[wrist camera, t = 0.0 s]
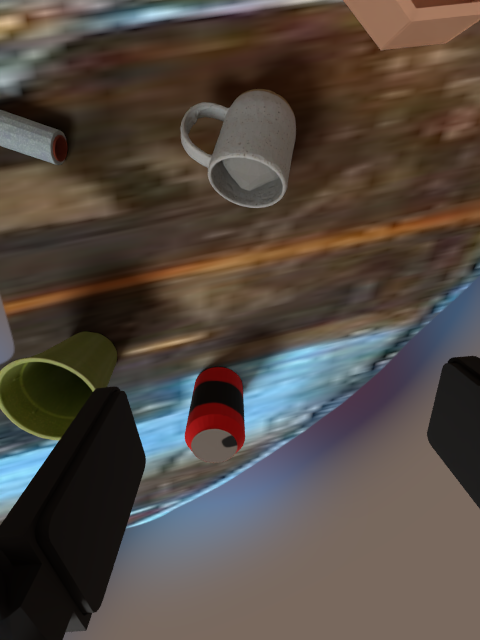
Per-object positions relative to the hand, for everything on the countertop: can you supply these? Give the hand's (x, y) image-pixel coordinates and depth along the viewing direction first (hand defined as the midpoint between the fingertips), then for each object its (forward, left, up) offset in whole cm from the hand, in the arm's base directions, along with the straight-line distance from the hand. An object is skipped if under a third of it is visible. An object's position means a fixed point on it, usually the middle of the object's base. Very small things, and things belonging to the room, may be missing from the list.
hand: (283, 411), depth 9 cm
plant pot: (+14, -24, -31) cm, 42 cm away
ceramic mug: (-10, 0, -31) cm, 33 cm away
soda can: (+22, -6, -31) cm, 39 cm away
